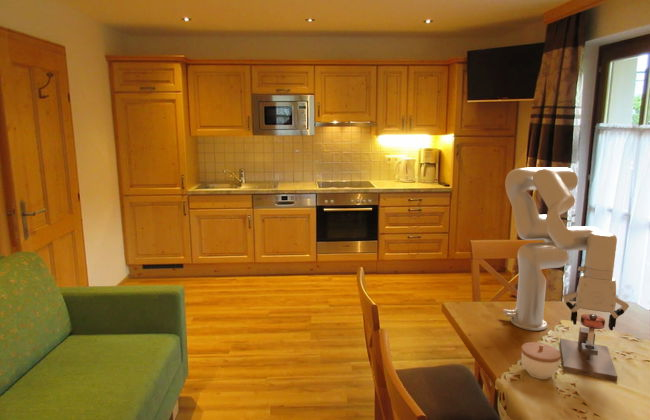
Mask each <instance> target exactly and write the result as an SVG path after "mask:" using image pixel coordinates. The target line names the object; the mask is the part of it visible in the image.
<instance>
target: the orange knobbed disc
mask: <svg viewBox="0 0 650 420" xmlns="http://www.w3.org/2000/svg"><path fill="white" fill-rule="evenodd" d="M579 321H580V324H581V325H582V327H585V328H589V332H588V341H587V348H589V349H592V347H593V339H594V332H595V330H602V329H604V328H605V325H606V320H605V318H604V317H602V316H599V315H597V314H594V313H590V314H589V313H585V314H581V315H580V320H579ZM591 356H592V355H591V354H586V359H587V360H591Z"/></svg>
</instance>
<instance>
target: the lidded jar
mask: <svg viewBox="0 0 650 420" xmlns="http://www.w3.org/2000/svg"><path fill="white" fill-rule="evenodd" d="M520 354H521V363H522V366H523V368H524V369H525V370H526V371H527V374H528V375H529V376H531V377H532V378H535V379H538V380H547V379H550V378H551V377H552V376H554V374H556V373H557V371H558V369H559V366H560V361H561V359H562V355H561V351H560V350H559V349H557V348H556V347H554V346H553V345H550V344H547V343H543V342H539V341H538V342H536V341H531V342H525V343H523V344H522V345H521V353H520Z"/></svg>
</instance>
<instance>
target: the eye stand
mask: <svg viewBox="0 0 650 420" xmlns="http://www.w3.org/2000/svg"><path fill="white" fill-rule="evenodd" d="M578 332H579V333H578V339H577V340H578V341H576V340H572V339H571V340H569V339H566V338H559V344H560V345H559V347H560V353H561V362H562V369H563V371H564V372H569V373H573V374H579V375H583V376H588V377H589V376H590V377H594V378H599V379H604V380H611V381H614V382H617V381H618V377H619V376H618V374H617V371H616V370H617V369H616V368H615V365H614V362H613V359H612V357H611V353H610V351H609V348H608V346H607V345H600V344H595V340H596V339H595V337H596V333H595V331H594V339H593V347H592V349H589V348H587V341H588V332H589V328H588V327H584V326H582V327H581V326H579V331H578ZM586 354H591V355H592V356H591V360H587V359H586Z"/></svg>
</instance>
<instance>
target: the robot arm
mask: <svg viewBox="0 0 650 420" xmlns="http://www.w3.org/2000/svg"><path fill="white" fill-rule="evenodd" d="M578 178H579V177H578V175H577V174H576V172H575V171H574V170H573V169H572V168H570V167H520V168H514V169H512V170H510V171H509V172H508V173H507V175H506V178H505V183H504V184H505V185H504V186H505V187H504V188H505V191H506V196H507V197H508V199H509V201H510V205H511V207H512V214H513V218H514V222H515V223H514V224H515V229H516V232H517V233H516V234H517V235H518V238H520V239H521V240H525V241H541V240H543V241H544V242H530V243H525V244H523V245H521V246H520V247H519V248H518V250H517V265H518V281H517V292H516V293H517V294H516V305H515V306H516V307H515V309H507V308H503V310H502V313H503V315H505V316H506V317H508V318H509V317H510V322H511V324H513V325H514V326H515V327H518V328H519V329H523V330H527V331H537V332H538V331H543V330H546V329H547V327H548V323H547V321H546V320H545V319H544V314H545V313H544V311H545V301H546V289H547V279H546V276H545V275H544V273H543V271H542V270H544V269H556V268H557V269H558V268H563V267H565V265H567V262H568V259H569V253H568V252H571V251H574V252H575V251H585V258H584V264H583V266H578V269H577V271H578V272H581V274H580V276H579V279H578V282H577V283H578V284H577V286H576V287H577V288H576V291H574V292H571V293H567V294H564V295H563V296H562V299H563V301H564V303H565V305H566V306H567V307H568V308H569V310H570V311H571V314H570V321H571V322H573V323H572V324H573V326H574V325H575V326H576V325H577V321H578V310H580V309H582V310H587V311H588V310H589V311H594V312H604V313H610V314H609V317H608V318H609V319H608V325H607V327H608V329H609V330H610V331H614V328H616V323H617V319H618V318H619V317H620V316H622V315H624V314H625V312H627V310H628V308H629V307H630V306H629V304H628V303H627V302H625V301H624V300H622V299H620V298H619V297H617V283H616V282H617V281H616V279H615V277H614V267H615V261H616V260H615V258H616V251H617V242H618V238H617V236H616V235H615V234H614V233H612V232H608V231H603V230H602V229H600V228H598V227H596V226H592V225H591V226H590V225H589V226H588V225H584V226H582V225H580V226H566V224H565V223H564V222H563V219H562V218H561V215H563V214H565V213H566V212H568V211H569V210H571V209H572V208H573V207H574V205H575V203H576V198H575V196H574V195H573V194H572V192H571V191H573V190H575V188H576V187H577V185H578V183H579V181H578ZM528 191H538V193H539V195H540V197H541V198H542V200H543V202H544V203H545V205H546V207H547V209H548V211H547V213H546V214H540V213H539V211H538V206H537V202H536V201H535V199H534V198H533V197H532V195H531V194H530V193H528ZM573 298H575V302H574V303H573V304H572V303H571V301H570V299H573ZM616 304H617V305H620V307H619V308H618V309H616Z"/></svg>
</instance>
